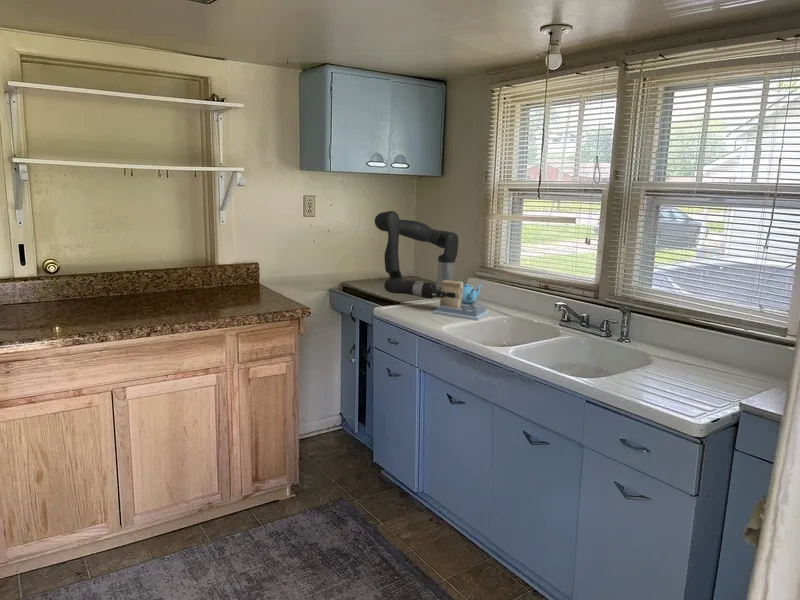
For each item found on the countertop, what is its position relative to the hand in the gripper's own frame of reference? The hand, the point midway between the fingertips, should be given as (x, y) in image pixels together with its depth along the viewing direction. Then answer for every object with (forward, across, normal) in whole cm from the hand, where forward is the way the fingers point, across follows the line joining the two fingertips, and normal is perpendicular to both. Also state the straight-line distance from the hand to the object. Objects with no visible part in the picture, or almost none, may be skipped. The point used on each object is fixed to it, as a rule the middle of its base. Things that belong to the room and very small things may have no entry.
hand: (456, 294), depth 276 cm
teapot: (-3, +21, +9) cm, 23 cm away
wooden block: (-3, 0, +7) cm, 8 cm away
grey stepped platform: (+3, 0, +9) cm, 9 cm away
